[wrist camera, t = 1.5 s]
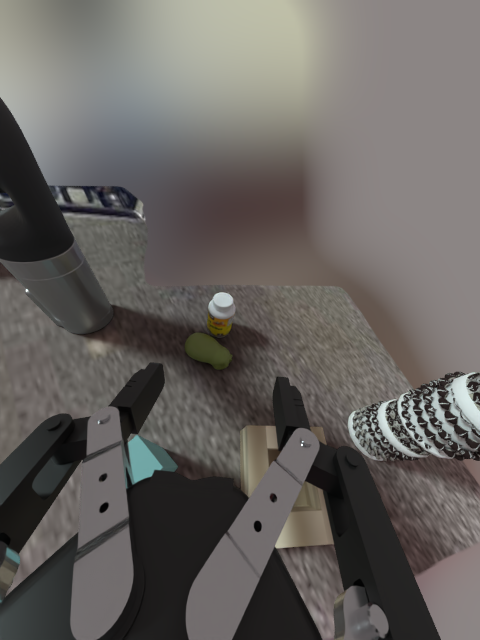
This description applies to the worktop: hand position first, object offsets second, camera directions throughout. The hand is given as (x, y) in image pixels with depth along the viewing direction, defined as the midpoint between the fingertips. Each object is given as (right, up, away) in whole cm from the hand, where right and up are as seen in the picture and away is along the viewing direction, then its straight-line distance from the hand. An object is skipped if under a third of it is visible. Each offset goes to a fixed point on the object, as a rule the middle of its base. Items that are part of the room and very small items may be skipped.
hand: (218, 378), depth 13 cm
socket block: (+7, -20, +17) cm, 27 cm away
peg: (-10, -18, +15) cm, 25 cm away
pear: (-5, -4, +27) cm, 28 cm away
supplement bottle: (-4, +2, +32) cm, 32 cm away
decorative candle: (+26, -18, +23) cm, 39 cm away
